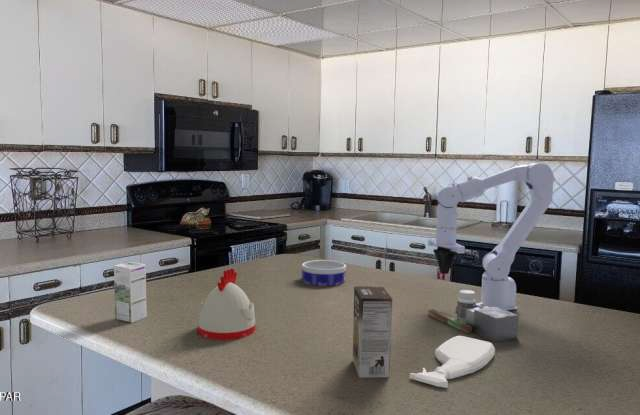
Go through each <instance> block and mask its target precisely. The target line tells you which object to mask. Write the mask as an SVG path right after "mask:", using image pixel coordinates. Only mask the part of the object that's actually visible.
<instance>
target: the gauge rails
mask: <svg viewBox="0 0 640 415" xmlns="http://www.w3.org/2000/svg"><path fill="white" fill-rule="evenodd" d="M427 310H428V311H427V313H428V316H429V317H432V318H434V319H436V320H438V321H440V322H442V323H445V324H447V325H448V326H451V327H454V328H455V329H457V330H459V331H462V332H464V333H466V334H470V333H472V332H473V331H472V326H470V325H467V324H465V323H463V322H461V321H458V320H457V318H454V317H452V316H449V315H448V314H446V313H445V314H444V313H442V312H441V311H438V310H436V309H433V308H432V309H427ZM455 312H456V313H457V305H456V306H455Z"/></svg>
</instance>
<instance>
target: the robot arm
mask: <svg viewBox="0 0 640 415" xmlns="http://www.w3.org/2000/svg"><path fill="white" fill-rule="evenodd" d="M555 179H556V178H555V176H554V173H553V170H552V168H551V167H550V166H549V165H548V164H546V163H543V162H530V163H527V164H522V165H518V166H517V165H516V166H513V167H510V168H508V169H505V170H502V171H499V172H497V173H495V174H492V175H489V176H486V177H484V178H480V177H478V176H471V175H469V176H468V177H466V180H462V181H458V182H456V183H455V182H452V183H451V184H450V185H451V186H443V187H441V188H440V189H439V191H438V192H437V195H436V200H437V202H438V204H437V212H436V228H435V232H436V233H435V234H436V235H435V238H428V239H427V246H430V247H431V246H432V247H435V248H436V249H435V248H434V249H433V253H434V255H435V258H436V260H437V264H438V269H439V273H440V274H442V275H446V274H447V275H448V274H449V272H450V270H451V266H452V264H453V261H454V259H455V258H456V256H457V255H458V254H465V252H466V251H465V250H466V248H465V247H466V246H464V245H462V244H460V243H457V225H458V212H457V211H458V210H457V208H458V204H459V202H460V203H464V202H466V201H469V200H472V199H475V198H476V199H477V198H478V197H482V196H484V194H485V191H486V190H487V189H488V190H489V189H491V188H494V187H495V188H496V187H497V186H500V185H504V184H508V183H510V182H514V181H515V182H520V183H521V182H522V183H525V185H526V186H527V188H528V190H529V191H528V192H529V194H530V200H529V201H528V203H527V204H526V205H525V207H524V209H523V210H521V213H520V214H519V215H518V217H517V218H516V220H515V221H514V222H513V224H512V226H510V228H509V230H508V231H507V233H506V234H505V235H504V237H503V239H502V240H501V241H500V243H499V244H498V245H495V247H494V248H493V249H492V251H490V252H488V253H486V254H485V255H484V256H483V257H482V267H483V269H484V272H483V273H482V275H481V290H480V291H481V293H480V294H481V295H480V302H476V307H477V308H478V307H480V303H483V307H486V306H488V307H498V308H501V309H503V310H506V311H511V310H517V309H518V306H516V299H517V298H516V296H517V284H516V281H515V280H514V279H513V278H512V277H510V276H508V275H509V274H510V272H511V271H510V270H511V266H512V264H513V263H514V261H515V257H516V253H517V252H518V250H519V249H520V247H521V246H522V244H523V243H524V242H525V241H526V239H527V238H528V236H529V235H530V233H531V232H532V231H533V229H534V228H535V226H536V225H537V223H538V222H539V221H540V219H541V218H542V217H543V215H544V214H545V213H546V211H547V209H548V208H549V206H550V205H551V204H552V201H553V197H554V196H553V194H554V192H553V191H554V182H555Z"/></svg>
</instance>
